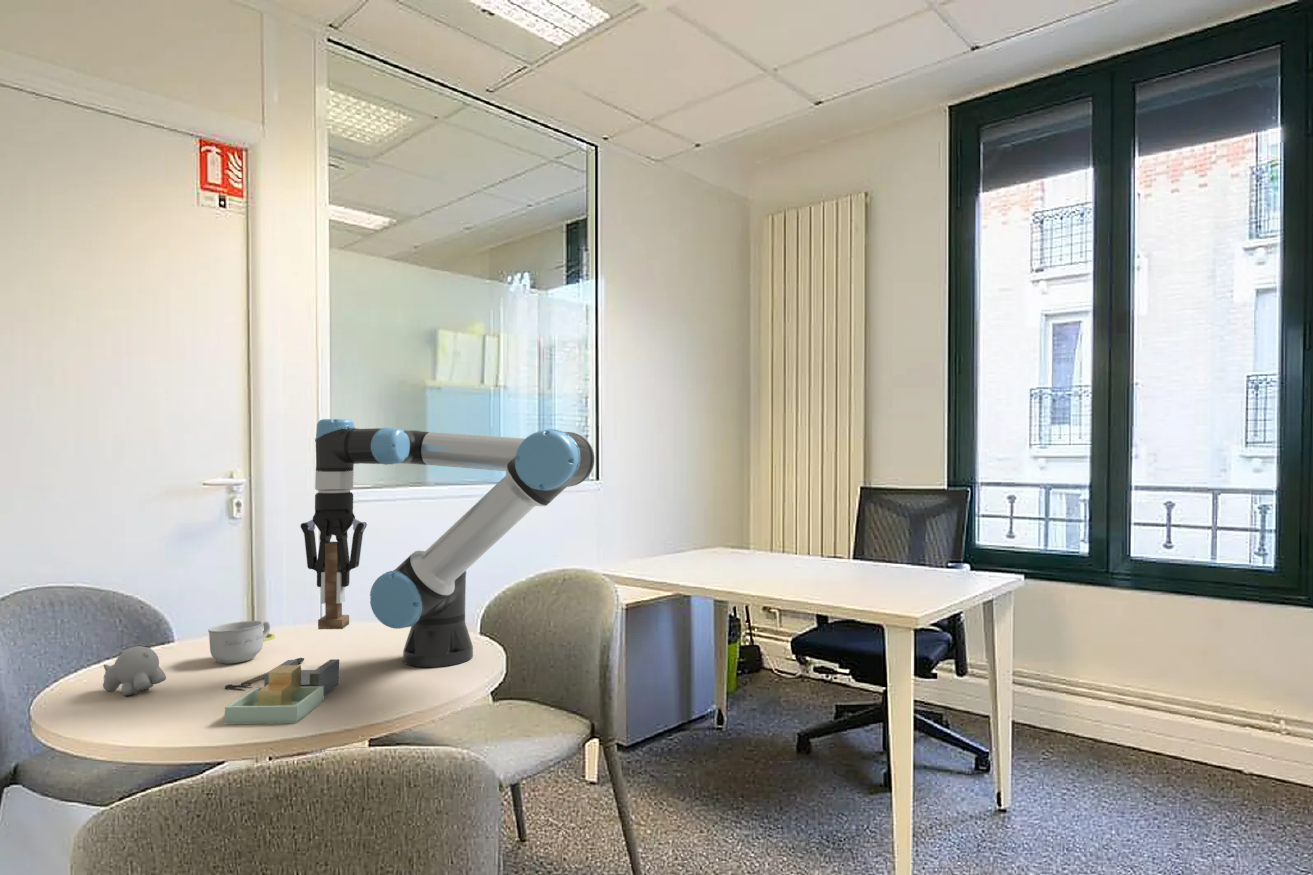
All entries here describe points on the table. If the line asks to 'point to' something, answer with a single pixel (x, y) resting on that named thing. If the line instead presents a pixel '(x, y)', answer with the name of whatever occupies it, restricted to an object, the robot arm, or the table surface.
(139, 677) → the toy rhinoceros
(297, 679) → the rear bronze block
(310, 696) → the sage tray
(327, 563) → the walnut t-shaped block
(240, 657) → the teacup
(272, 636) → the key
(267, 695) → the front bronze block
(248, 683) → the tactical tomahawk
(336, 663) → the graphite slot block
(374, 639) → the table surface
